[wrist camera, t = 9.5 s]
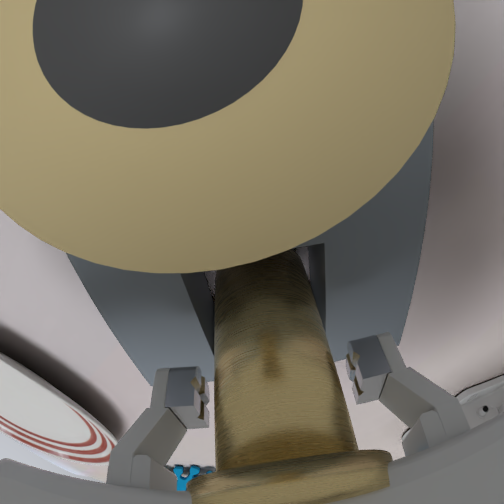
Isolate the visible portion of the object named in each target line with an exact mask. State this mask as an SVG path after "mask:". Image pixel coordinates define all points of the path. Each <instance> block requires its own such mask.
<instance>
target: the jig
mask: <svg viewBox="0 0 504 504" xmlns="http://www.w3.org/2000/svg"><path fill="white" fill-rule="evenodd" d="M454 42H455V13H454V3H453V0H0V209H1V210H2V211H3V212H4V213H5V214H7V215H8V216H9V217H10V218H11V219H12V220H13V221H15V222H16V223H17V224H18V225H20V226H21V227H22V228H24V229H25V230H27V231H28V232H30V233H31V234H33V235H34V236H36V237H37V238H39V239H40V240H42V241H44V242H46V243H48V244H50V245H52V246H54V247H56V248H58V249H60V250H62V251H64V252H66V254H67V256H68V258H69V260H70V261H71V263H72V265H73V267H74V269H75V271H76V273H77V274H78V276H79V278H80V280H81V282H82V283H83V285H84V287H85V289H86V290H87V292H88V294H89V295H90V297H91V299H92V300H93V302H94V304H95V305H96V307H97V309H98V310H99V312H100V314H101V315H102V317H103V318H104V320H105V321H106V323H107V325H108V326H109V328H110V329H111V331H112V332H113V334H114V335H115V337H116V338H117V340H118V341H119V343H120V344H121V346H122V347H123V349H124V350H125V351H126V353H127V354H128V356H129V357H130V359H131V360H132V361H133V363H134V364H135V365H136V367H137V368H138V370H139V371H140V372H141V374H142V375H143V376H144V378H145V379H146V380H147V382H148V383H149V384H150V385H151V386H153V384H154V377H155V372H156V370H157V369H160V368H176V367H190V366H199V367H200V369H201V371H202V372H201V376H203V377H205V378H206V380H207V382H210V381H214V330H215V305H214V302H213V299H212V296H211V293H210V290H209V287H208V284H207V281H206V278H205V275H204V272H203V271H211V270H220V269H225V268H229V267H234V266H238V265H243V264H247V263H252V262H255V261H258V260H261V259H264V258H267V257H270V256H273V255H276V254H279V253H281V252H284V251H287V250H289V249H292V248H298V247H304V246H308V251H309V266H310V282H311V290H312V293H313V296H314V299H315V302H316V305H317V308H318V311H319V315H320V318H321V321H322V324H323V327H324V330H325V334H326V337H327V340H328V343H329V347H330V350H331V353H332V357H333V360H334V362H335V361H340V360H344V359H346V355H347V354H348V350H347V343H348V341H352V340H356V339H360V338H364V337H368V336H372V335H378V334H382V333H385V332H389V333H390V334H391V335H392V337H393V339H394V341H395V344H396V346H399V343H400V340H401V336H402V333H403V329H404V326H405V322H406V318H407V314H408V310H409V306H410V302H411V298H412V294H413V289H414V285H415V280H416V275H417V270H418V265H419V260H420V255H421V249H422V243H423V237H424V231H425V224H426V217H427V209H428V200H429V191H430V181H431V168H432V152H433V122H434V117H435V115H436V113H437V110H438V108H439V105H440V103H441V100H442V97H443V95H444V92H445V89H446V87H447V83H448V79H449V74H450V70H451V65H452V60H453V55H454Z"/></svg>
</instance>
